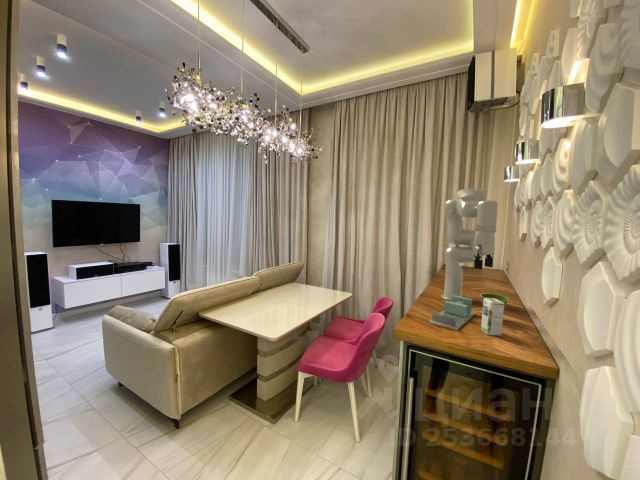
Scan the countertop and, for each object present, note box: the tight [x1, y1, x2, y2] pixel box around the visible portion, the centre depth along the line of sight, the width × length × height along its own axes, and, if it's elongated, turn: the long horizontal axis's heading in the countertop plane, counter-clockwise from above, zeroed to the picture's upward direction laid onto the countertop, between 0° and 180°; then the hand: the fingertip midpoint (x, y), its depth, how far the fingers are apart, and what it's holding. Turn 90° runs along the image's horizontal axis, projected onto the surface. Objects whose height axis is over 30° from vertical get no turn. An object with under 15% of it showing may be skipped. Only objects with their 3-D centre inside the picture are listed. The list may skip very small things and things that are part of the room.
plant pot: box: [479, 292, 510, 315], centre depth 129 cm, size 12×12×11 cm
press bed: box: [429, 309, 476, 331], centre depth 130 cm, size 28×12×4 cm, turn 136°
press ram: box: [443, 295, 473, 317], centre depth 135 cm, size 12×10×6 cm
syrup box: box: [480, 298, 505, 336], centre depth 114 cm, size 6×6×14 cm
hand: (483, 267), depth 117 cm, fingers open, 9 cm apart
